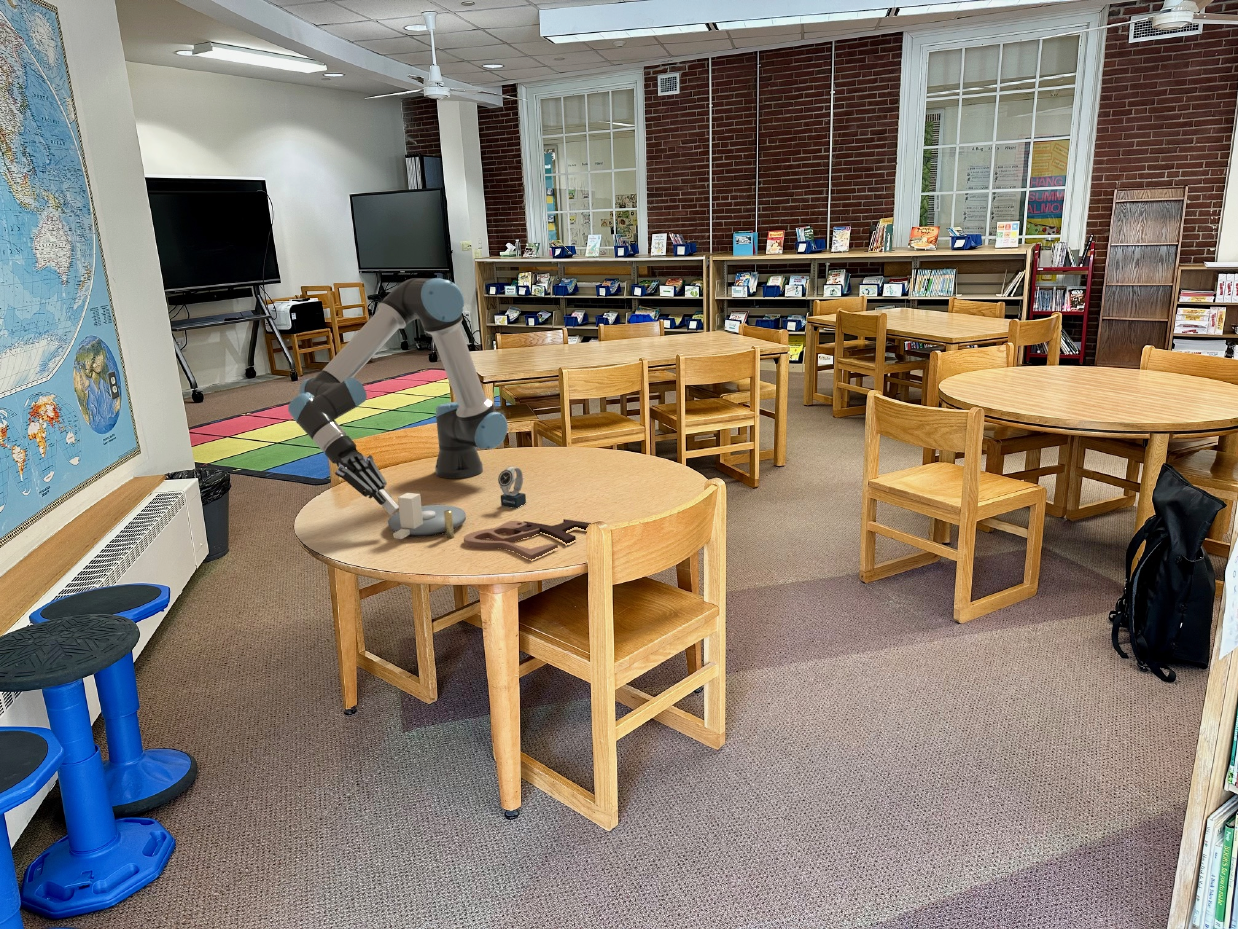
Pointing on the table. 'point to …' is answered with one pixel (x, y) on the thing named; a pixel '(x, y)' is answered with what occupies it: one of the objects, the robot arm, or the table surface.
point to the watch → (506, 481)
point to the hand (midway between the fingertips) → (394, 511)
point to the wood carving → (522, 536)
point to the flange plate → (431, 522)
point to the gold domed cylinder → (449, 524)
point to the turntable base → (428, 534)
